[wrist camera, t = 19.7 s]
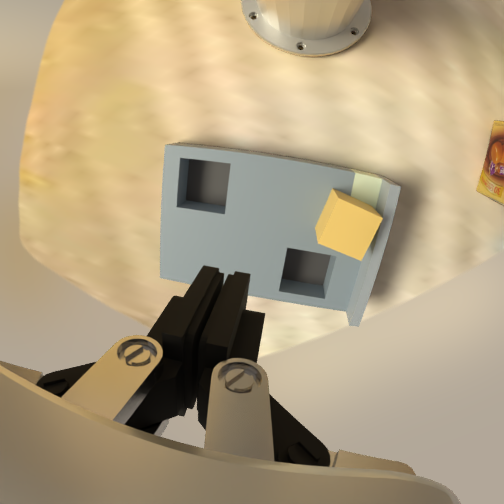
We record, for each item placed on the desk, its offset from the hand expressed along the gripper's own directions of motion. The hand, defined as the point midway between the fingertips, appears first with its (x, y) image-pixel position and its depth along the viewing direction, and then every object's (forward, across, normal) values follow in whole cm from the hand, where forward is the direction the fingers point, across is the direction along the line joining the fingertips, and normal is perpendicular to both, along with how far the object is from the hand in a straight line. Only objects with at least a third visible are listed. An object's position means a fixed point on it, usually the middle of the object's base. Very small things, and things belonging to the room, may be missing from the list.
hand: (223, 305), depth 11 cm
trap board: (+21, 0, +4) cm, 21 cm away
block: (+18, -7, +1) cm, 19 cm away
